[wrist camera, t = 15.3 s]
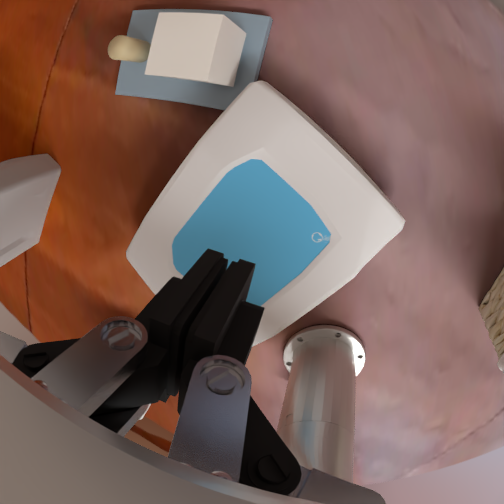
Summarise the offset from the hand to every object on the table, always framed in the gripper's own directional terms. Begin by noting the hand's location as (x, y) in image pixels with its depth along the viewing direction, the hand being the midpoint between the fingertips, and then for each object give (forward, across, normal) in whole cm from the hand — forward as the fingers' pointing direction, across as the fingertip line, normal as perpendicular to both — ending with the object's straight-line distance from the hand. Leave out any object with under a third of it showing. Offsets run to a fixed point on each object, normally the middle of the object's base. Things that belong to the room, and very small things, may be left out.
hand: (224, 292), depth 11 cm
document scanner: (+27, +3, +9) cm, 28 cm away
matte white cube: (+25, +12, -10) cm, 29 cm away
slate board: (+27, +16, -10) cm, 33 cm away
